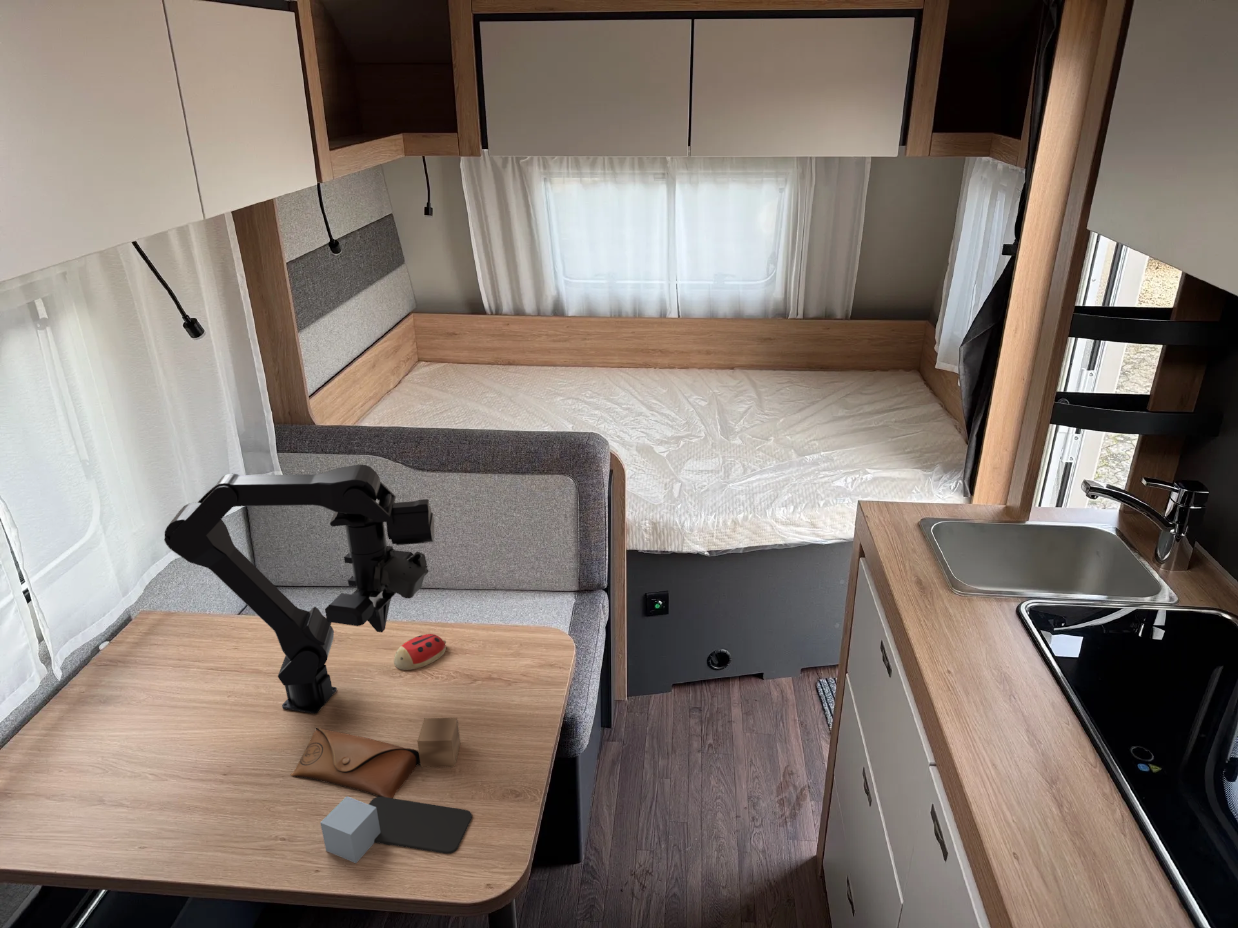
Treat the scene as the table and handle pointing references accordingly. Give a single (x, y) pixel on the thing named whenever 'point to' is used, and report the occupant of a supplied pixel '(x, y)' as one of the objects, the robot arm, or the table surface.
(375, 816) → the slate block
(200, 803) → the table surface
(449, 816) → the phone
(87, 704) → the table surface
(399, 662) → the ladybug figurine
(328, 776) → the sunglasses case
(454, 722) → the walnut block
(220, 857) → the table surface
